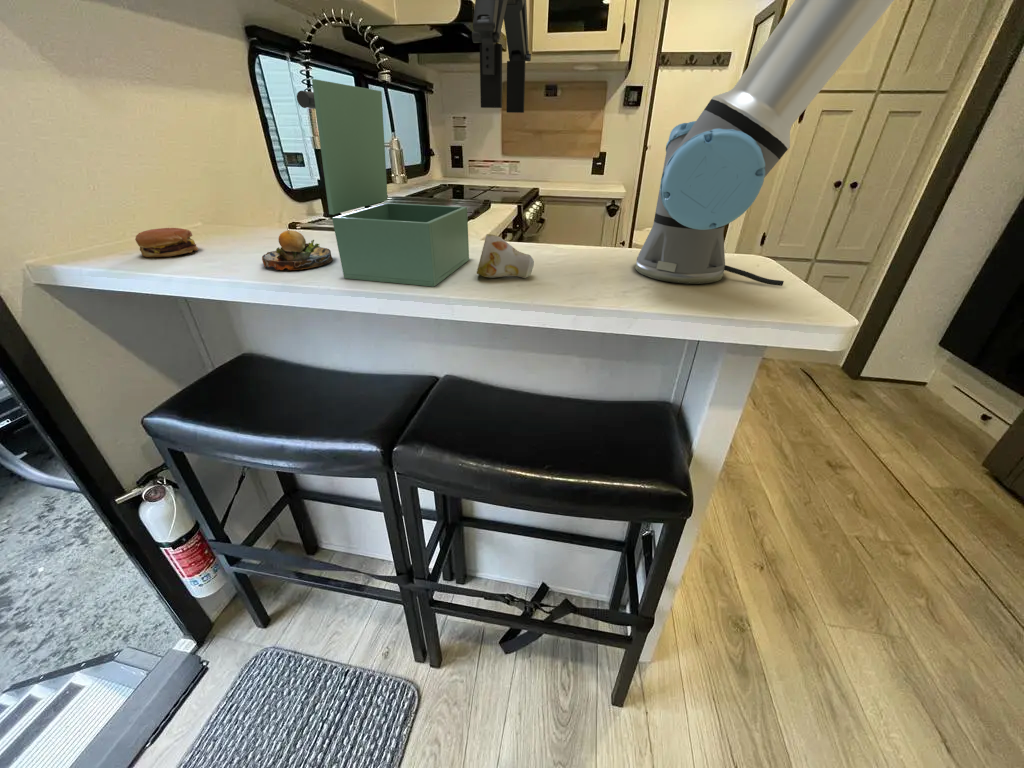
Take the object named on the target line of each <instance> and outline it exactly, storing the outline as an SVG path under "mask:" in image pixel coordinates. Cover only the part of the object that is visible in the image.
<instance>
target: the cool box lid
mask: <svg viewBox="0 0 1024 768" xmlns="http://www.w3.org/2000/svg"><path fill="white" fill-rule="evenodd" d="M311 83H312V91H307V90H299V91H298V92H297V94H296V101H297V103H298V105H299V107H301V108H304V109H312V110H315V115H316V122H317V129H318V138H319V139H318V140H319V146H320V154H321V162H322V169H323V177H324V184H325V185H324V186H325V191H326V200H327V206H328V207H327V208H328V214H329V215H332V216H334V215H338V214H341V213H345V212H349V211H353V210H356V209H360V208H364V207H367V206H368V207H369V206H372V205H375V204H379V203H380V204H381V203H383V202H388V200H389V199H388V183H387V182H388V179H387V164H386V161H387V160H386V146H385V144H386V143H385V128H384V110H383V108H384V107H383V96H382V95H383V94H382V92H383V91H382V90H377V89H371V88H367V87H360V86H355V85H348V84H344V83H339V82H337V83H336V82H333V81H327V80H322V79H316V78H312V79H311Z"/></svg>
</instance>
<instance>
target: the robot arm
mask: <svg viewBox="0 0 1024 768" xmlns="http://www.w3.org/2000/svg"><path fill="white" fill-rule="evenodd" d="M893 2H895V0H794V1H793V2H792V3H791V4H790V7H789V8H788V9H787V11H786V13H785V14H784V16H783V17H782V18H781V19H780V21H779V23H778V24H777V25H776V27H775V28H774V30H773V31H772V33H771V34H770V36H768V38H767V39H766V41H765V43H764V44H763V45H762V46H761V48H760V49H759V51H758V53H756V55H755V56H754V58H753V59H752V61H751V62H750V64H749V65H748V66H747V68H746V70H745V71H744V72H743V73H742V75H741V76H740V78H739V79H738V81H737V82H736V83H735V85H734V87H732V88H731V89H729V90H728V91H725V92H722V93H720V94H717V95H714V96H712V97H711V99H710V100H709V102H708V103H707V105H706V106H705V107H704V109H703V110H702V111H701V113H700V114H699V116H698V117H697V119H696V120H694V121H693V120H692V121H688V122H682V123H679V124H676V125H675V126H674V127H673V128H672V129H671V131H670V133H669V136H668V141H667V142H666V145H665V156H664V162H663V168H662V174H661V178H660V185H659V191H658V195H657V201H656V206H655V212H654V219H653V223H652V227H651V229H650V231H649V232H648V234H647V237H646V238H645V241H644V243H643V245H642V247H641V249H640V251H639V253H638V255H637V257H636V262H635V267H634V268H635V270H636V271H637V272H638V273H639V274H641V275H643V276H645V277H648V278H651V279H654V280H657V281H661V282H662V281H663V282H669V283H674V284H685V285H686V284H688V285H701V284H703V285H704V284H712V283H715V282H718V281H720V280H722V279H723V277H724V273H725V272H729V273H732V274H735V275H739V276H741V277H744V278H748V279H750V280H753V281H756V282H758V283H762V284H765V285H771V286H779V287H783V285H784V282H785V281H784V280H779V279H773V278H772V279H770V278H767V277H763V276H760V275H757V274H754V273H752V272H750V271H746V270H742V269H740V268H736V267H733V266H730V265H726V256H725V253H726V252H725V240H724V230H725V226H726V225H728V224H730V223H732V222H734V221H735V220H737V219H738V218H740V217H741V216H742V215H744V213H746V212H747V211H748V210H749V209H750V207H751V206H752V205H753V204H754V202H755V201H756V199H757V197H758V195H759V194H760V192H761V189H762V187H763V185H764V181H765V179H766V176H767V175H769V173H770V172H771V171H772V169H774V167H775V166H777V163H779V161H780V159H781V158H783V156H784V155H785V154H786V153H787V151H788V150H789V149H790V148H791V130H792V126H793V125H794V124H795V122H797V120H798V119H799V118H800V117H801V115H802V114H803V113H804V111H805V110H806V109H807V108H808V107H809V106H810V104H812V102H813V100H815V98H816V97H817V95H818V94H819V93H820V92H821V91H822V90H823V88H824V87H825V85H827V84H828V82H829V81H830V80H831V78H832V77H833V76H834V75H835V73H837V71H838V70H839V69H840V67H842V65H843V64H844V63H845V61H846V60H847V59H848V58H849V56H850V55H851V54H852V53H853V52H854V50H855V49H856V48H857V47H858V45H859V44H860V43H861V41H863V39H864V38H865V37H866V36H867V34H868V33H869V32H870V31H871V30H872V28H873V27H874V26H875V24H876V23H877V22H878V21H879V19H880V18H881V17H882V16H883V15H884V13H885V12H886V11H887V10H888V8H889V7H890V6H891V5H892V4H893ZM472 19H473V20H472V32H471V41H472V43H473V44H479V87H480V89H479V90H480V91H479V92H480V93H479V94H480V109H481V108H482V109H503V44H501V43H499V42H500V38H501V34H502V29H503V26H504V31H505V39H506V45H507V54H508V59H509V60H507V61H506V113H507V114H509V113H510V114H511V113H512V114H524V113H525V93H526V92H525V91H526V90H525V89H526V62H531V61H532V53H530V49H529V29H528V28H529V27H528V26H529V25H528V7H527V0H474V9H473V18H472ZM503 24H504V25H503Z"/></svg>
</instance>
